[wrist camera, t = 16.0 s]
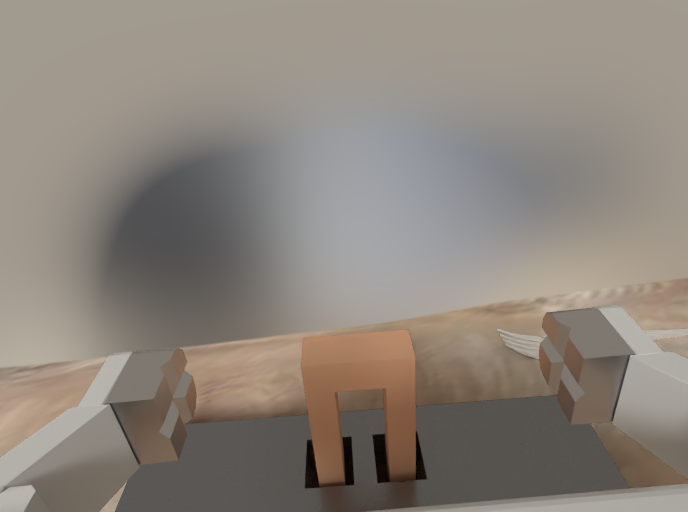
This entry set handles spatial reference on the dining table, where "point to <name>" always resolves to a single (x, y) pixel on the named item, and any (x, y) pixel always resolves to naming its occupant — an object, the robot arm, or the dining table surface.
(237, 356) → the dining table surface
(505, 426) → the rail
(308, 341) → the clip
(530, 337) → the fork
